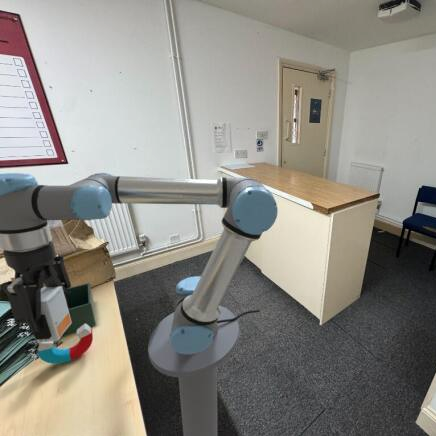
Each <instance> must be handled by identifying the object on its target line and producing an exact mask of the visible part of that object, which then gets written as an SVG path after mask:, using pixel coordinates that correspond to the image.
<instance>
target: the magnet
mask: <svg viewBox="0 0 436 436" xmlns="http://www.w3.org/2000/svg"><path fill="white" fill-rule="evenodd" d="M93 334H94V333H93V330H92V327H89V325H87V324H86V323H85V324H84V325H82V326H81V327H80V328H78V329H77V332H76V337H77V338H79V341H78V342H77V343H76V344H75V345H73V346H70V347H69V348H64V349H63V348H62V349H61V348H57V347H55V346H54V342H55V341H50V342H41V343H38V349H37V354H38V357H39V359H41V360H42V362H45V363H48V364H53V365H54V364H56V365H57V364H63V363H64V364H65V363H68V362H71V361H73V360H75V359H78V358H79V357H81V356H82V355H84V354H85V353H87V351H88V350H89V348H90V347H91V346H92V344H93V339H94V338H93V336H94V335H93Z"/></svg>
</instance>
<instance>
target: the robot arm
mask: <svg viewBox="0 0 436 436" xmlns="http://www.w3.org/2000/svg"><path fill="white" fill-rule="evenodd" d="M276 201H277V200H276V199H275V197H274V195H273V194H272V193H271V191H270V190H269V189H267V188H266V187H265V185H263V183H261V182H260V181H259V180H258V179H255V178H252V177H231V176H229V177H228V176H227V177H226V176H225V177H224V176H221V177H218V179H197V178H196V179H195V178H194V179H193V178H171V177H151V176H150V177H149V176H148V177H146V176H126V175H125V176H123V175H121V176H120V175H114V174H111V173H109V172H99V173H94V174H91V175H89V176H87V177H86V178H83V179H81V180H78V181H76V182H74V183H71V184H69V185H48V184H47V185H46V184H45V185H44V184H39V183H38V181H37V179H36V177H35V176H34V175H32V174H29V173H19V172H12V173H11V172H8V173H7V172H6V173H0V248H1V250H3V251H2V255H3V258H4V260H5V263H6V265H7V266H8V268H11V270H13V271H14V280H13V281H12V282H11V283H10V284H4V285H3V286H2V291H3V292H4V293H5V294H6V295H7V298H8V301H9V305H10V309H11V312H12V316H13V319H14V323H15V325H25V324H26V325H28V328H29V330H30V332H32V333H33V337H34V339H35V340H36V341H37V340H39V339H50V337H51V333H50V329H49V326H48V323H47V320H46V317H45V315H41V289H42V288H43V287H44V285H45V287H59V286H62V289H63V292H64V296H65V299H66V303H67V302H68V301H67V297H66V295H68V294H70V290H67V289H68V288H70V287H72V284H71V281H70V278H69V274H68V272H67V269H66V266H65V261H64V259H65V258H64V254H63V255H62V254H57V252H56V249H55V245H54V242H53V241H52V240H53V236H52V232H51V230H50V225H49V222H48V221H92V220H103V219H104V220H105V219H106V218H108V217H109V215H110V214H111V212H112V206H113V204H116V205H117V204H121V205H122V204H123V205H124V204H134V205H135V204H139V205H140V204H141V205H142V204H145V205H211V206H213V205H217V206H218V207H219V208H221V209H226V210H225V212H224V214H223V217H222V219H221V224H222V227H223V229H222V232H221V234H220V235H219V238H218V240H217V242H216V245H215V246H214V248H213V251H212V253H211V255H210V257H209V260H208V261H207V262H206V265H205V267H204V269H203V272H202V274H201V276H199V275H197V276H189V277H186V278H184V279H182V280H180V281H179V282H177V284H176V287H175V293H176V302H175V307H174V318H173V323H172V328H171V333H170V346H171V348H172V349H174V351H176V352H178V353H181V354H195V353H198V352H201V351H203V350H205V349H206V348H208V347H209V346H210V344H211V343H212V340H213V339H214V337H215V336H216V334H217V323H222V322H229V321H234V320H236V319H237V320H238V319H240V318H241V317H243V316H244V315H248V314H253V313H254V314H255V313H260V312H261V310H260V309H254V310H247V311H244V312H242V313H240V314H238V315H237V316H235V318H232V319H225V320H219V321H217V320H218V318H219V316H220V313H221V308H220V306H221V303H222V301H223V299H224V297H225V295H226V293H227V291H228V289H229V287H230V285H231V284H232V282H233V280H234V277H235V275H236V274H237V272H238V269H239V268H240V266H241V263H242V262H243V260H244V258H245V256H246V254H247V252H248V250H249V248H250V247H251V245H252V242H255V241H258V240H260V238H261V237H262V235H263V233H265V232H267V231H268V230H270V229H271V228H272V227H273V226H274V224H275V223H276V220H277V218H278V211H279V210H278V204H277V202H276ZM67 307H68V304H67ZM68 310H69V307H68ZM69 314H70V311H69ZM70 316H71V314H70Z"/></svg>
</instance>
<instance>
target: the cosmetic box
mask: <svg viewBox="0 0 436 436" xmlns="http://www.w3.org/2000/svg"><path fill="white" fill-rule="evenodd" d="M41 315H45V317H46V320H47V323H48V326H49V329H50V333H51V337H50V339H39V340H36V342H37V343H38V344H39V343H41V342H50V341H54V342H58V341H59V340H60V339H61V338H62V337H61V336H62V335H63V333H64V332H65V331H66V330H67V328H68V327H69V326H70V325H71V323H72V322H71V318H70V314H69V310H68V307H67V303H66V299H65V296H64V292H63V289H62V286H59V287H46V286H43V288H42V289H41Z"/></svg>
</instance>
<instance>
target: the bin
mask: <svg viewBox="0 0 436 436" xmlns="http://www.w3.org/2000/svg"><path fill="white" fill-rule="evenodd" d="M67 290H70V294H68V295H66V297H67V301H68V302H67V304H68V307H69V311H70V314H71V316H70V318H71V322H72V323H71V325H70V326H69V327H68V328H67V330H66V331H65V332H64V333H63V335H62V336H61V337H60V338H63V337H66V336H68V335H71V334H75V333H77V329H78V328H80V327H81V326H82V325H84V324H85V323H86V324H87V325H89V327H90V328H93V327H96V326H97V322H96V310H95V302H94V297H93V291H92V288H91V283H90V282H88V283H83V284H79V285H75V286H71V287H70V288H68V289H67Z"/></svg>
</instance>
